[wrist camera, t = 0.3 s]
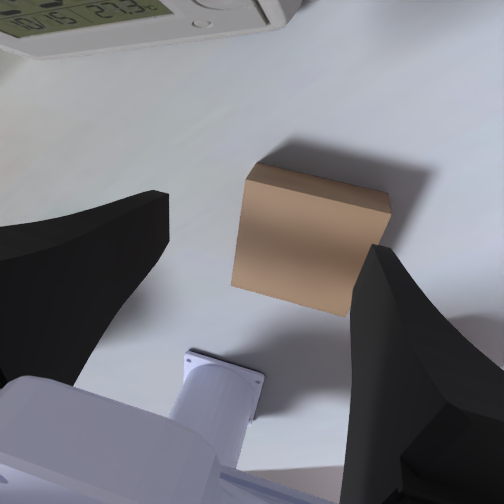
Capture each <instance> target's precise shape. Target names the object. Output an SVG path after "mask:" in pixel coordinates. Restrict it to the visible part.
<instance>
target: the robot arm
mask: <svg viewBox="0 0 504 504" xmlns="http://www.w3.org/2000/svg"><path fill="white" fill-rule="evenodd" d="M169 241H170V240H169V194H168V193H164V192H159V191H155V190H151V191H146V192H142V193H139V194H136V195H133V196H130V197H127V198H124V199H121V200H118V201H115V202H112V203H109V204H105V205H102V206H99V207H96V208H92V209H89V210H85V211H82V212H78V213H75V214H71V215H67V216H63V217H58V218H53V219H48V220H43V221H38V222H32V223H25V224H18V225H10V226H3V227H0V504H336V503H334V502H331V501H328V500H325V499H322V498H319V497H316V496H313V495H310V494H307V493H304V492H301V491H298V490H296V489H293V488H290V487H286V486H284V485H281V484H278V483H275V482H272V481H269V480H266V479H263V478H260V477H257V476H254V475H251V474H249V473H246V472H243V471H240V470H237V469H236V467H237V463H238V459H239V455H240V452H241V448H242V444H243V440H244V437H245V433H246V429H247V426H251V424H252V421H253V417H254V414H255V410H256V407H257V403H258V400H259V396H260V392H261V389H262V385H263V382H264V378H265V376H264V375H263V374H262V373H259V372H256V371H252V370H249V369H246V368H243V367H239V366H236V365H233V364H230V363H227V362H223V361H220V360H217V359H214V358H210V357H207V356H204V355H201V354H197V353H194V352H191V351H187V352H186V353H185V355H184V381H183V386H182V388H181V390H180V392H179V394H178V396H177V399H176V401H175V403H174V405H173V407H172V409H171V411H170V414H169V416H168V418H166V417H163V416H160V415H157V414H154V413H151V412H148V411H145V410H142V409H139V408H136V407H133V406H130V405H127V404H124V403H121V402H118V401H115V400H112V399H109V398H106V397H103V396H100V395H97V394H94V393H91V392H88V391H85V390H82V389H79V388H76V387H73V385H74V383H75V382H76V380H77V378H78V376H79V374H80V373H81V371H82V369H83V367H84V365H85V364H86V362H87V360H88V358H89V357H90V355H91V353H92V352H93V350H94V348H95V347H96V345H97V343H98V342H99V340H100V338H101V337H102V335H103V333H104V332H105V330H106V329H107V327H108V326H109V324H110V322H111V321H112V319H113V318H114V316H115V315H116V313H117V312H118V311H119V309H120V308H121V306H122V305H123V304H124V303H125V301H126V300H127V299H128V298H129V296H130V295H131V294H132V293H133V292H134V290H135V289H136V288H137V287H138V285H139V284H140V283H141V282H142V281H143V279H144V278H145V277H146V276H147V274H148V273H149V272H150V271H151V269H152V268H153V267H154V266H155V264H156V263H157V262H158V260H159V258H160V257H161V255H162V253H163V252H164V250H165V248H166V246H167V245H168V243H169ZM350 331H351V359H352V388H351V401H350V414H349V425H348V435H347V445H346V454H345V463H344V472H343V481H342V488H341V496H340V504H504V371H503V370H502V369H501V368H500V367H498V366H497V365H496V364H495V363H493V362H492V361H491V360H490V359H489V358H488V357H486V356H485V355H484V354H483V353H482V352H480V351H479V350H478V349H477V348H476V347H475V346H473V345H472V344H471V343H470V342H469V341H468V340H467V339H466V338H465V337H464V336H463V335H462V334H461V333H460V332H459V331H458V330H457V329H456V328H455V327H454V326H453V325H452V324H451V323H450V322H449V321H448V320H447V319H446V318H445V317H444V316H443V315H442V314H441V313H440V312H439V311H438V310H437V308H436V307H435V306H434V305H433V304H432V303H431V301H430V300H429V299H428V298H427V297H426V295H425V294H424V293H423V292H422V290H421V289H420V288H419V286H418V285H417V284H416V283H415V281H414V280H413V279H412V277H411V276H410V274H409V273H408V272H407V270H406V269H405V267H404V266H403V265H402V263H401V262H400V260H399V259H398V257H397V256H396V255H395V253H394V252H393V251H392V249H391V248H387V247H383V246H379V245H375V244H372V245H371V247H370V249H369V252H368V254H367V256H366V259H365V261H364V264H363V266H362V268H361V271H360V273H359V276H358V278H357V280H356V283H355V285H354V287H353V291H352V300H351V310H350Z"/></svg>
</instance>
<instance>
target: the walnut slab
mask: <svg viewBox="0 0 504 504" xmlns="http://www.w3.org/2000/svg"><path fill="white" fill-rule="evenodd" d="M391 215H392V213H391V207H390V202H389V196H388V193H384V192H380V191H376V190H371V189H367V188H363V187H359V186H354V185H350V184H346V183H342V182H337V181H333V180H329V179H325V178H320V177H316V176H312V175H307V174H303V173H299V172H295V171H290V170H286V169H282V168H278V167H273V166H269V165H265V164H261V163H256V164H255V166H254V167H253V169H252V170H251V172H250V173H249V175H248V176H247V178H246V180H245V187H244V194H243V201H242V209H241V216H240V223H239V230H238V237H237V245H236V252H235V259H234V266H233V273H232V281H231V286H234V287H238V288H241V289H245V290H248V291H252V292H256V293H259V294H263V295H266V296H270V297H274V298H277V299H281V300H285V301H288V302H292V303H295V304H299V305H303V306H306V307H310V308H313V309H317V310H321V311H324V312H328V313H331V314H335V315H339V316H342V317H346V316H347V313H348V311H349V309H350V307H351V300H352V291H353V287H354V285H355V283H356V280H357V278H358V276H359V273H360V271H361V268H362V266H363V264H364V261H365V259H366V256H367V254H368V252H369V249H370V247H371V245H372V244H375V245H378V244H379V242H380V240H381V237H382V235H383V233H384V231H385V228H386V226H387V224H388V222H389V219H390V217H391Z"/></svg>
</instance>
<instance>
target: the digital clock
mask: <svg viewBox="0 0 504 504" xmlns="http://www.w3.org/2000/svg"><path fill="white" fill-rule="evenodd" d="M301 3H302V0H0V49H2V50H5V51H8V52H11V53H14V54H17V55H20V56H23V57H26V58H31V59H35V60H53V59H62V58H71V57H79V56H86V55H94V54H102V53H110V52H117V51H125V50H133V49H141V48H148V47H156V46H164V45H171V44H179V43H187V42H195V41H202V40H210V39H218V38H226V37H233V36H241V35H248V34H255V33H262V32H269V31H274V30H279V29H281V28H284V27H285V26H286V25H287V23H288V22H289V21H290V20H291V18H292V17H293V16H294V14H295V13H296V11H297V10H298V9H299V7H300V6H301Z"/></svg>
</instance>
